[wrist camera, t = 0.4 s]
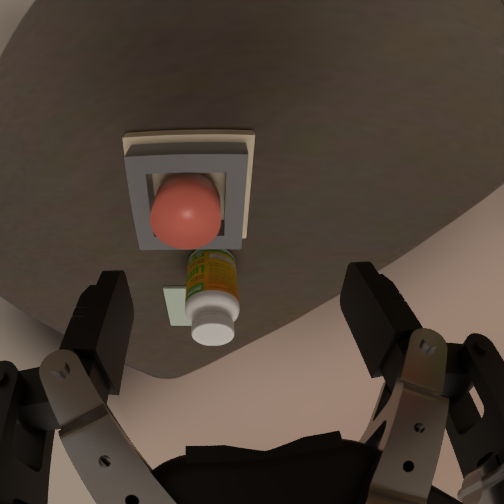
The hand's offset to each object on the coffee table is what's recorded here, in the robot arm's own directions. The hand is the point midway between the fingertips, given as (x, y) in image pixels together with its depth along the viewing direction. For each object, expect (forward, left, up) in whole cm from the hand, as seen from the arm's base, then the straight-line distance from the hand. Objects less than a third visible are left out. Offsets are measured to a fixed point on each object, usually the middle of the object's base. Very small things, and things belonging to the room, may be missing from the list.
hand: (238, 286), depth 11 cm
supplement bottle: (+16, -1, -18) cm, 25 cm away
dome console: (+6, -3, -18) cm, 19 cm away
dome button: (+6, -3, -15) cm, 17 cm away
